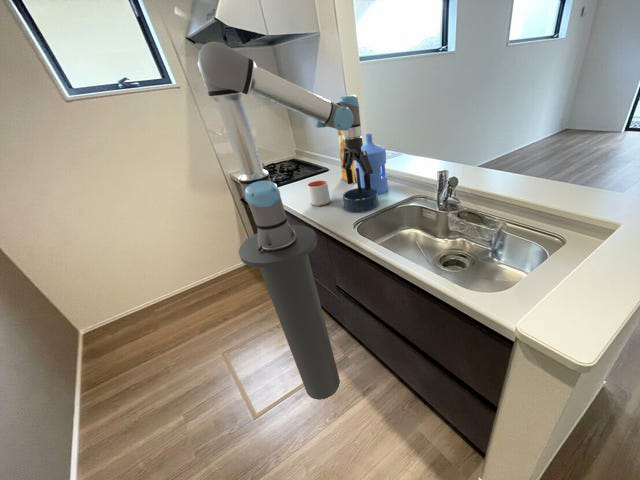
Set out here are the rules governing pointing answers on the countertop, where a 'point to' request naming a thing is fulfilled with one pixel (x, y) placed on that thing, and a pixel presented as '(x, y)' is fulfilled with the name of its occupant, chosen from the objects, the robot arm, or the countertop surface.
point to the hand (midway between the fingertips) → (359, 186)
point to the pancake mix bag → (341, 147)
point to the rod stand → (359, 184)
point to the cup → (319, 193)
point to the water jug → (375, 165)
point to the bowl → (362, 204)
